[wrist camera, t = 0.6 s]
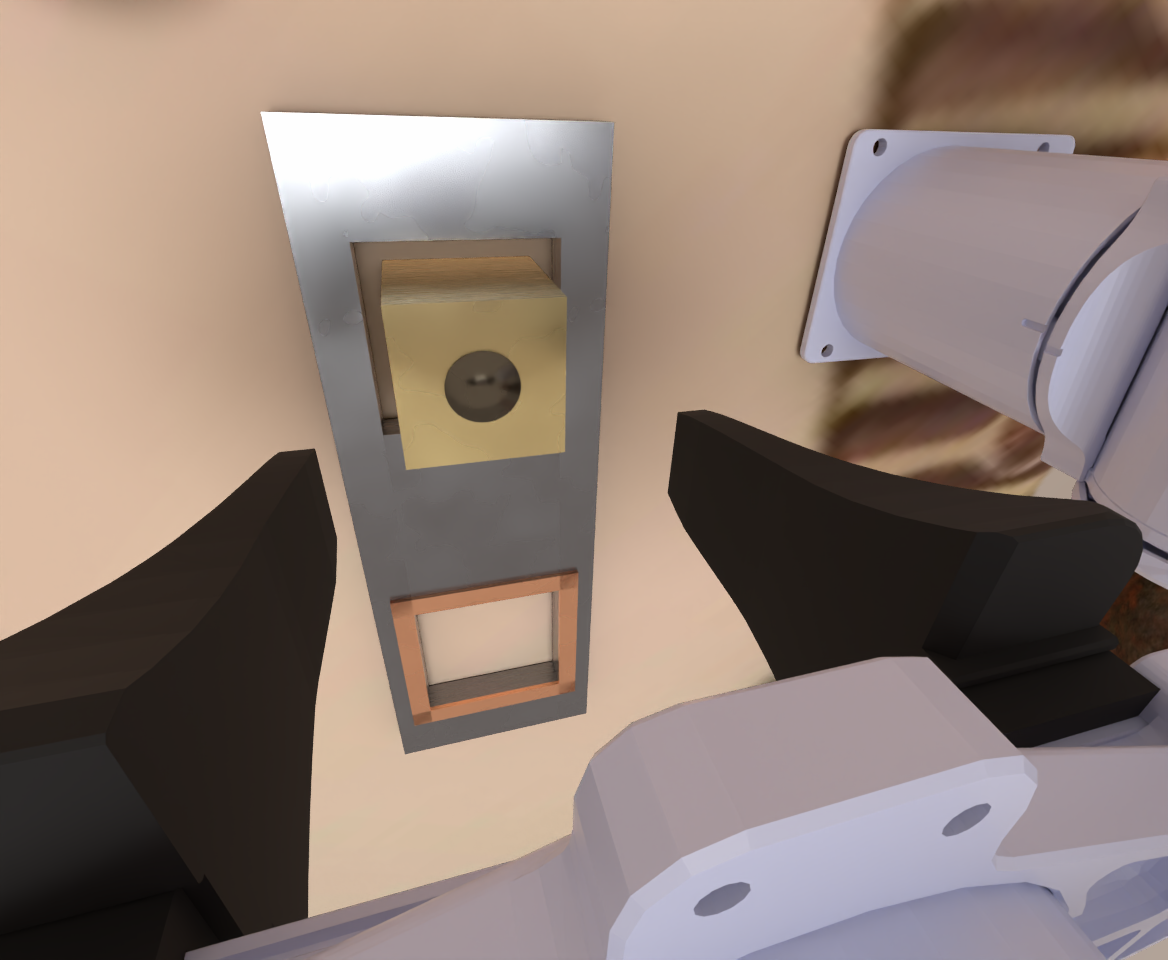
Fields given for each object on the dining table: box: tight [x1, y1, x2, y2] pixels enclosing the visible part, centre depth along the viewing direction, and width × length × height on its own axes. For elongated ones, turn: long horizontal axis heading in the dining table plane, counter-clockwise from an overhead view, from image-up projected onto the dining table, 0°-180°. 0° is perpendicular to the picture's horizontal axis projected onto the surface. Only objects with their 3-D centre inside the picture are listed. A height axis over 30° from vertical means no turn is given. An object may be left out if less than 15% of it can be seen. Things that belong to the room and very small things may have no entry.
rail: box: [261, 111, 614, 754], centre depth 23 cm, size 9×26×1 cm, turn 178°
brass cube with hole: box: [381, 256, 567, 470], centre depth 17 cm, size 4×4×5 cm
